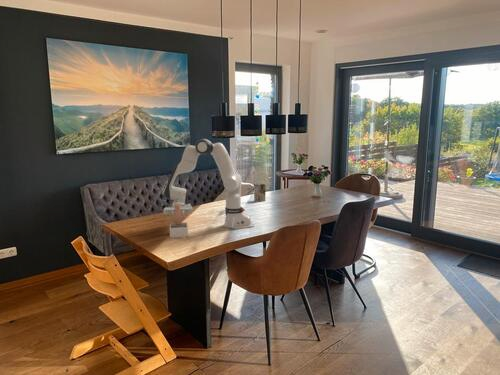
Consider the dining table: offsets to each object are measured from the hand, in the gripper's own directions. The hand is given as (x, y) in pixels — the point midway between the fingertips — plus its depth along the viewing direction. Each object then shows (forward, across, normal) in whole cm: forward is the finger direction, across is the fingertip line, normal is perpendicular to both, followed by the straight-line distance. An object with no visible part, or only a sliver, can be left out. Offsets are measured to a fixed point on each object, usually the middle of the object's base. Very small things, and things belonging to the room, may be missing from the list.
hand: (177, 213), depth 262 cm
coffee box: (-90, +75, +15) cm, 119 cm away
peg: (-1, 0, +8) cm, 8 cm away
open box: (-1, 0, +15) cm, 15 cm away
